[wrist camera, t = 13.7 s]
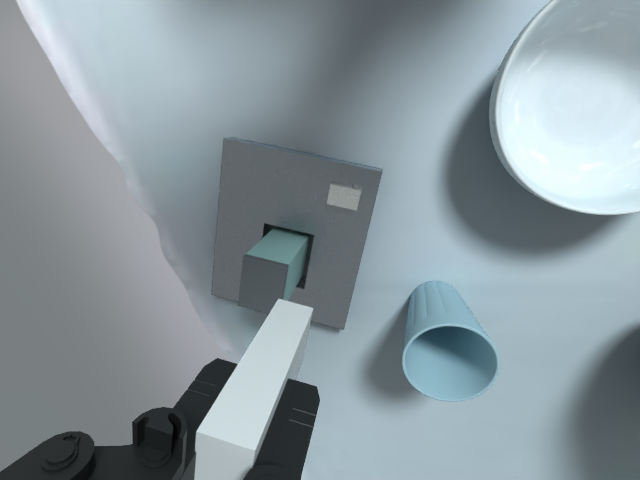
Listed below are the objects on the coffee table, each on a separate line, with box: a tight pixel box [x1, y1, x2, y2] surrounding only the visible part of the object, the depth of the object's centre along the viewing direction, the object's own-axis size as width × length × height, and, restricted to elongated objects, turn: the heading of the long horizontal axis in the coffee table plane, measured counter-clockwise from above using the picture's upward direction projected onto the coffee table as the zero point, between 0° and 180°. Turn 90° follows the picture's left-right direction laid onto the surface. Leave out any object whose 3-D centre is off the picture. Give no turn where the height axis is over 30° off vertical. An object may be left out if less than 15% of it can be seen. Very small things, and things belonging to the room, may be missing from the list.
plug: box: [238, 227, 310, 314], centre depth 35 cm, size 5×4×9 cm
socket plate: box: [211, 137, 383, 330], centre depth 38 cm, size 18×16×3 cm
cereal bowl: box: [489, 0, 640, 215], centre depth 27 cm, size 17×17×7 cm
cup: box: [402, 281, 500, 402], centre depth 34 cm, size 8×8×10 cm
